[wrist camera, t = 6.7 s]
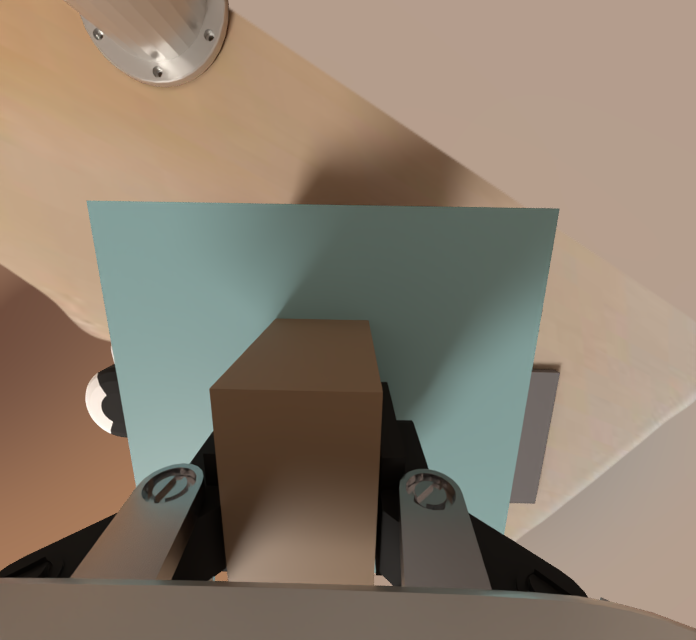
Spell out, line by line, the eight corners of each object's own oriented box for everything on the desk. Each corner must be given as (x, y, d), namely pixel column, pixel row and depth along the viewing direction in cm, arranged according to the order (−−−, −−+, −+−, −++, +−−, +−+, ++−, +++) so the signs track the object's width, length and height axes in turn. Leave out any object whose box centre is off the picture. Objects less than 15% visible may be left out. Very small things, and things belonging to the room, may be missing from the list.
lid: (131, 207, 12) (-186, 162, 5) (524, 213, 11) (775, 178, 5) (176, 524, 15) (30, 761, 8) (478, 531, 15) (583, 777, 8)
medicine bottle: (220, 320, 35) (154, 360, 23) (231, 381, 37) (174, 447, 25) (155, 324, 35) (58, 367, 23) (169, 385, 37) (84, 452, 25)
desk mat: (401, 366, 36) (402, 369, 35) (555, 369, 36) (559, 372, 35) (393, 494, 40) (394, 499, 39) (531, 498, 40) (534, 503, 39)
